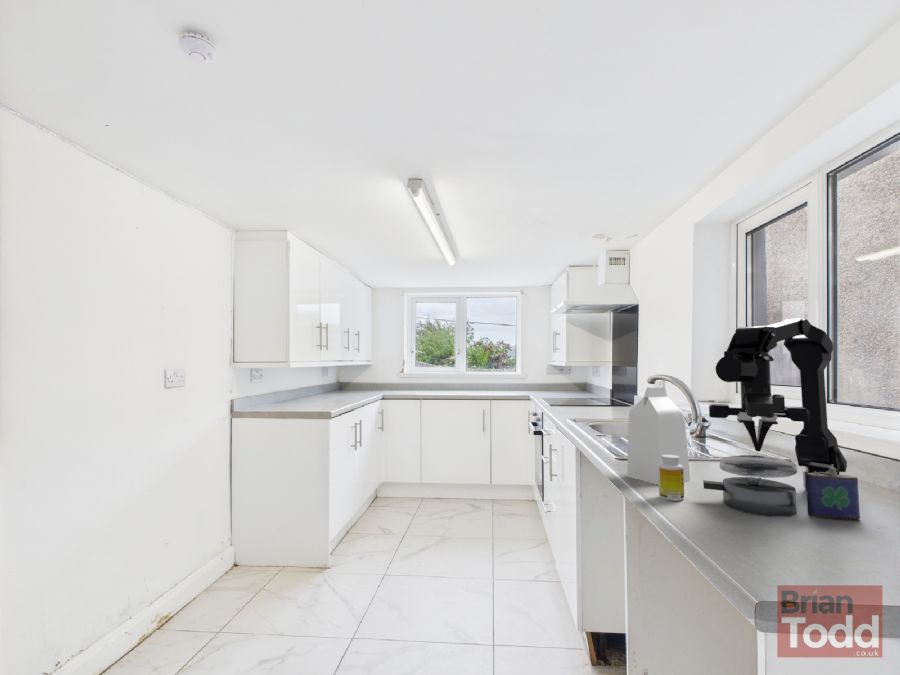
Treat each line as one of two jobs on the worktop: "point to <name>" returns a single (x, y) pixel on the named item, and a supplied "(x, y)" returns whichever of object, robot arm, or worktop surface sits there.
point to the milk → (655, 435)
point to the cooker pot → (756, 495)
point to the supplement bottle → (671, 478)
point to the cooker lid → (758, 466)
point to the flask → (832, 495)
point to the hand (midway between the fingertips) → (757, 451)
